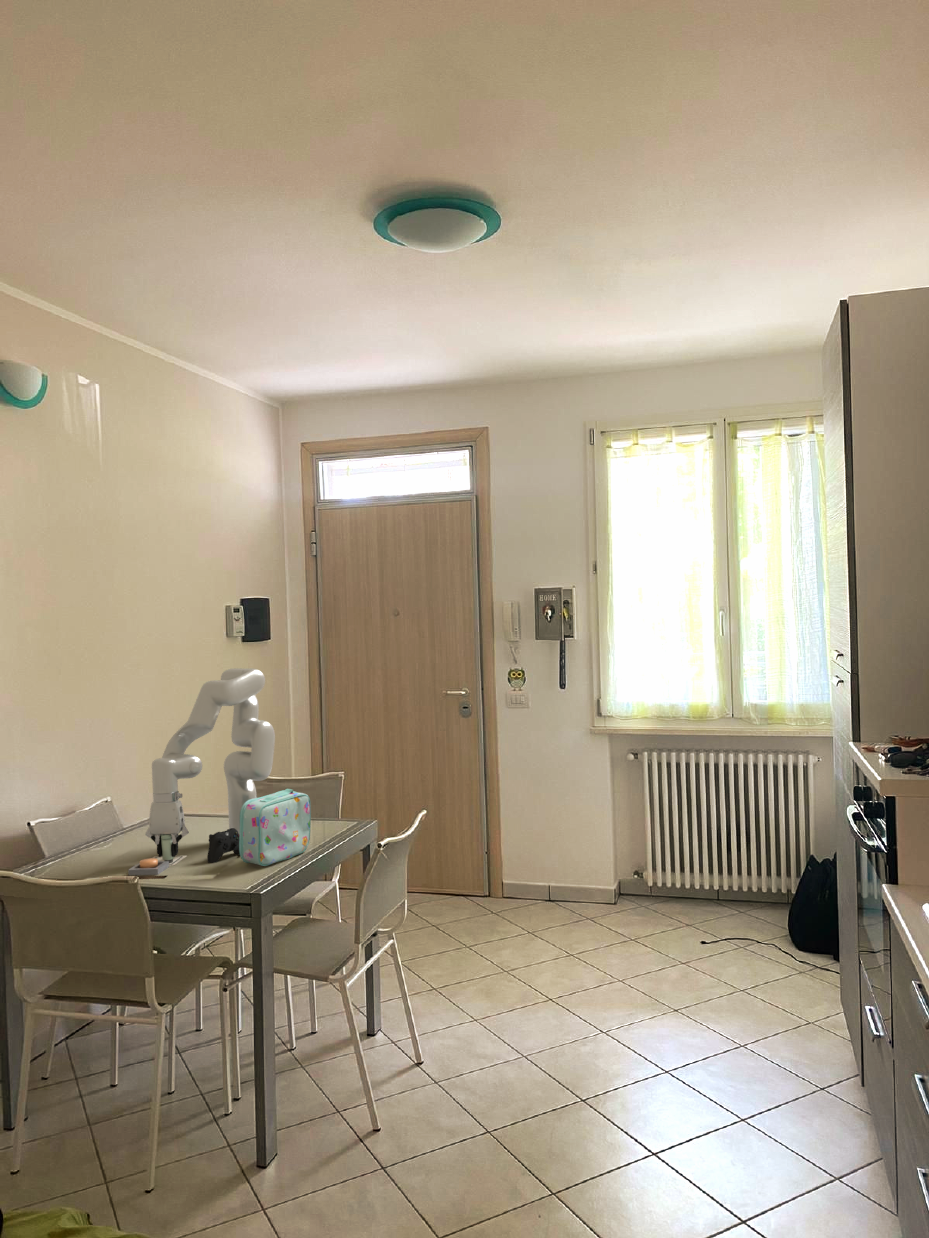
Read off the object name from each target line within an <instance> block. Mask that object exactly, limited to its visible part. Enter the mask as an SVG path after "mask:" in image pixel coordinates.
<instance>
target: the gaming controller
mask: <svg viewBox="0 0 929 1238" xmlns="http://www.w3.org/2000/svg"><path fill="white" fill-rule="evenodd" d="M239 837H240V835H239V833H238V831H237V830H236V829H235V828H230V829H229V828H228V829H226V830H223V831H217V832H215V833H213V834H209V835H208V842H209V843H208V844H209V845H208V850H207V856H206V857H207V859H206V860H207V863H208V864H214V863H218V862H219V860H220V859H221V858H222V857H223V855H224V854H227V853H230V852H233V854H234V855H237V856H240V853H239Z"/></svg>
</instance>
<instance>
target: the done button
mask: <svg viewBox="0 0 929 1238" xmlns="http://www.w3.org/2000/svg"><path fill="white" fill-rule="evenodd" d="M139 862H140V868H154V867H157V866H158V859H156V858H152V857H150V858H143V859H141V860H139Z"/></svg>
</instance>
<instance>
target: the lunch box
mask: <svg viewBox="0 0 929 1238" xmlns="http://www.w3.org/2000/svg"><path fill="white" fill-rule="evenodd" d="M311 809H312V807H311V799H310V797H309V795H308V794H306V793H303V792H297V791H294V789H291V788H286V789H285V790H284V789H283V790H279V791H277V792H274V793H270V794H267V795H264V796H261V797H260V796H259V797H257V798H254V799H250V800H248V801H246V802H245V803H244V804H243V806H242V808H241V811H240V837H239V853H240V857H239V858H240V859H241V860H242V862H243V863H245V864H253V865H258V866H262V867H263V866H264V867H267V866H271V865H272V864H275V863H278V862H281V861H285V860H289V859H292V858H294V857H295V856H298V855H301V854H302V853H305V851H306V850H307V848H308V846H309V844H310V839H311V820H312V819H311V818H312V817H311V814H312V813H311V812H312V811H311Z"/></svg>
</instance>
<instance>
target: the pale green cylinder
mask: <svg viewBox="0 0 929 1238" xmlns="http://www.w3.org/2000/svg"><path fill="white" fill-rule="evenodd" d="M161 842H162V859H163V860H164V861H169V863H172V862H173V859H174V857H172V855H171V844H172V842H173V841H172V836H171V834H166V835H161Z"/></svg>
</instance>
